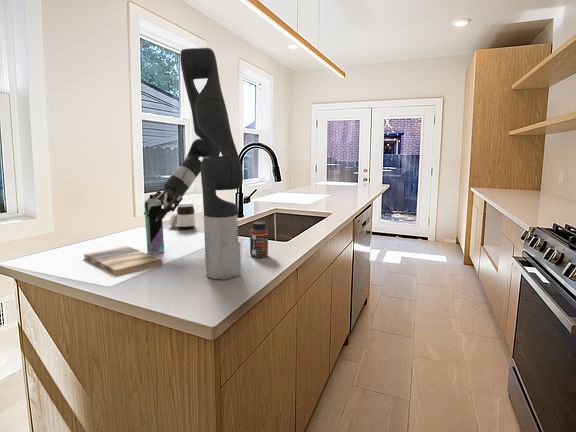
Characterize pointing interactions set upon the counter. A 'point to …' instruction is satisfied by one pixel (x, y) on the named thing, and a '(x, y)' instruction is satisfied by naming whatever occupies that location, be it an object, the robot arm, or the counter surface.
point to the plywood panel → (122, 260)
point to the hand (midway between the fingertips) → (151, 217)
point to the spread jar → (184, 216)
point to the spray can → (153, 226)
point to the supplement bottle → (259, 240)
